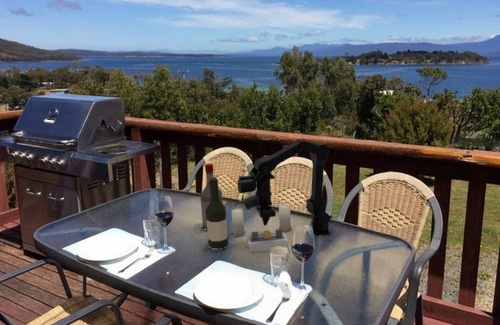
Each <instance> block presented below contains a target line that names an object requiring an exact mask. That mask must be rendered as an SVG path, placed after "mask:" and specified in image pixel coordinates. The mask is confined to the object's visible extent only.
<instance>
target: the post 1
mask: <svg viewBox="0 0 500 325" xmlns="http://www.w3.org/2000/svg"><path fill="white" fill-rule="evenodd" d="M231 222H232V231H231V235H232V234H233V235H235V236H241V235H244V234H245V235H246V231H245V223H244V210H243V208H234V209H232V210H231ZM233 235H232V236H233ZM245 235H244V236H245ZM235 236H234V237H235ZM241 237H242V236H241Z"/></svg>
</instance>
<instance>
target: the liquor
mask: <svg viewBox="0 0 500 325" xmlns="http://www.w3.org/2000/svg"><path fill="white" fill-rule="evenodd" d="M204 171H205V174H206V175H205V176H206V185H205V187H204V188H203V189H202V192H201V194H200V207H201V220H202V228H204V229H206V230H207V220H206V209H207V207H208V205H209V203H210V201H211V194H210V182H209V180H210V178H211V177H214V171H215V170H214V164H213V163H207V164H205V165H204ZM218 190H219V199H220V200H221V202H222V203H223V204H224V202H223V192H222V190H221V189H220V188H219V187H218ZM204 229H203V230H204ZM206 230H205V231H206Z"/></svg>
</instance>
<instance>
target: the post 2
mask: <svg viewBox="0 0 500 325" xmlns="http://www.w3.org/2000/svg"><path fill="white" fill-rule="evenodd" d="M278 220H279V222H278V223H279V224H278V225H279V226H278V229H282V232H283V233H289V232H292V230H293V228H292V226H291V224H292V223H291V221H292V220H291V205H289V204H285V203H283V204H280V205H279V206H278Z"/></svg>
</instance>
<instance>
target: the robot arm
mask: <svg viewBox="0 0 500 325" xmlns="http://www.w3.org/2000/svg"><path fill="white" fill-rule="evenodd" d="M329 150H330V149H329V147H328V146H327V145H326V144H323V143H321V142H319V141H315V142H314V141H313V142H311V141H307V140H304V139H302V138H299V139H297V140H295V141H294V142H292V143H291V144H288V145H287V146H286V147H283V148H282V149H280V150H278V151H276V152H275V153H273V154H271V155H270V154H269V155H266V156H262V157H260V158H258V159H256V160H255V161H254V164H253V167H252V169H251V170H250V172H249V175H241V176H238V180H237V183H236V184H237V189H238V193H239V194H246V193H251V192H255V194H254V195H250V196H248V197H246V198H244V199H243V200H242V201H243V203H244V207H245V208H246V210H251V209H252V208H254V207H256V208H255V209H256V211H257V213H258V216H259V217H260V218H261V220H262V224H263V226H267V225H268V222H269V220H270V219H271V218H273V217H276V214H277V212H276V210H275V208H274V207H273V202H272V195H273V194H272V191H271V190H272V189H271V188H272V187H271V180H274V179H276V176H275V175H273V173H272V172H273V171H275V169H276V168H277V167H278V166H279V165H280V164H281V163H284V162H285V161H287V160H288V159H290V158H292V157H294V156H296V155H297V154H299V153H300V152H302V151H305V152H307V153H309V156H310V160H311V163H312V169H311V170H312V173H311V190H310V191H311V195H310V198H306V205H305V209H306V210H307V212H308V213H309V214H310V215H311V217H312V220H311V225H310V226H312V228H313V231H314V232H313V231H312V232H313V234H314V236H319V235H328V234H329V235H330V231H329V222H330V221H331V219H332V218H331V217H332V216H331V215H330V214H329V213H327V212H326V205H325V201H324V198H323V193H324V192H323V191H324V189H323V188H324V171H325V170H324V168H325V164H326V162H327V160H328V158H329V152H330V151H329Z"/></svg>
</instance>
